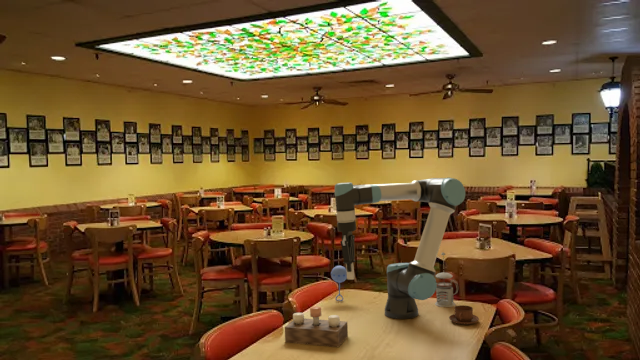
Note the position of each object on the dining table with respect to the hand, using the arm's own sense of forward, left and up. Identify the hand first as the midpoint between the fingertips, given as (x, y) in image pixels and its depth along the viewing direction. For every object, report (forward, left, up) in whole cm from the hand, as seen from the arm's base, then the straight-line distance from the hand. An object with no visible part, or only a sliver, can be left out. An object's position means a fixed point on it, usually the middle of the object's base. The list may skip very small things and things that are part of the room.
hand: (350, 278), depth 198 cm
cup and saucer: (-42, -26, -23) cm, 54 cm away
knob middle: (+12, +9, -17) cm, 23 cm away
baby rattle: (+20, -46, -23) cm, 55 cm away
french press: (-32, -51, -23) cm, 64 cm away
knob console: (+12, +9, -22) cm, 27 cm away
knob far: (+20, +9, -20) cm, 29 cm away
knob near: (+5, +9, -20) cm, 23 cm away
